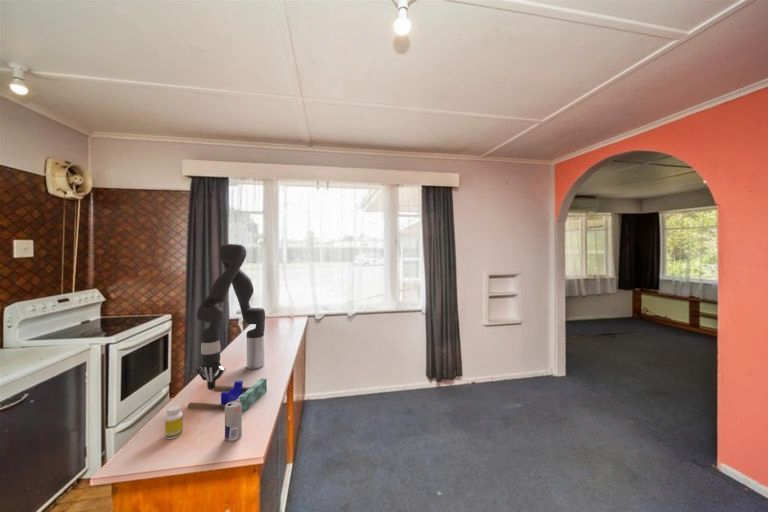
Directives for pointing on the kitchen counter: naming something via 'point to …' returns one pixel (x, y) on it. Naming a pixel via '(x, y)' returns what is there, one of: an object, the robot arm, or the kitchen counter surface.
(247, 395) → the guide channel
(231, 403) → the energy drink
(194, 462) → the kitchen counter surface
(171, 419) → the supplement bottle
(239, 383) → the cable clip
